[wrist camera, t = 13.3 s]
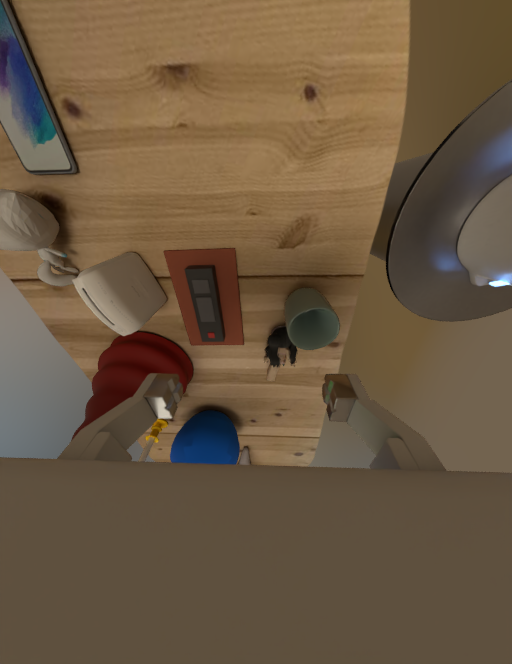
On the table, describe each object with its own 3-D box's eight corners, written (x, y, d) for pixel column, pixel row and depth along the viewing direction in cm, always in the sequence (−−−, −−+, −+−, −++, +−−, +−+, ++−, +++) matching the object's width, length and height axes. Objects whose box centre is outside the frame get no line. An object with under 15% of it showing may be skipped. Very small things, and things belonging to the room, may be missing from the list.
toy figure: (292, 372, 48) (301, 322, 39) (292, 393, 43) (302, 342, 34) (264, 369, 49) (266, 319, 40) (260, 389, 44) (262, 338, 35)
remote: (188, 265, 33) (183, 269, 31) (214, 264, 33) (211, 268, 31) (204, 335, 42) (201, 342, 40) (225, 335, 41) (223, 342, 39)
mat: (234, 247, 32) (234, 248, 31) (244, 343, 43) (243, 344, 43) (164, 250, 32) (163, 251, 32) (191, 344, 44) (190, 345, 43)
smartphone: (26, 174, 26) (-84, -32, 18) (33, 175, 27) (-70, -23, 19) (76, 172, 26) (-13, -39, 18) (81, 173, 27) (-2, -29, 18)
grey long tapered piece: (222, 458, 66) (230, 496, 78) (247, 459, 65) (251, 497, 77) (227, 437, 73) (233, 474, 85) (249, 438, 72) (253, 475, 84)
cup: (275, 292, 36) (279, 319, 28) (316, 274, 34) (333, 298, 26) (290, 324, 40) (297, 356, 31) (327, 310, 38) (345, 340, 29)
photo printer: (171, 301, 38) (137, 338, 27) (153, 307, 39) (114, 345, 28) (137, 247, 32) (79, 269, 22) (117, 256, 33) (52, 281, 23)
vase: (180, 427, 64) (127, 569, 39) (189, 394, 54) (126, 557, 29) (232, 438, 67) (214, 577, 42) (250, 410, 57) (240, 568, 32)
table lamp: (92, 341, 44) (-833, 1093, 7) (167, 321, 40) (-965, 1720, 3) (143, 394, 55) (-113, 806, 17) (206, 383, 51) (51, 875, 14)
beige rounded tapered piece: (112, 264, 38) (36, 174, 25) (94, 297, 34) (-8, 210, 21) (64, 263, 38) (-36, 173, 25) (41, 296, 34) (-93, 209, 21)
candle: (152, 416, 61) (122, 473, 48) (169, 420, 62) (144, 477, 49) (150, 424, 63) (122, 480, 50) (166, 428, 64) (142, 484, 51)
